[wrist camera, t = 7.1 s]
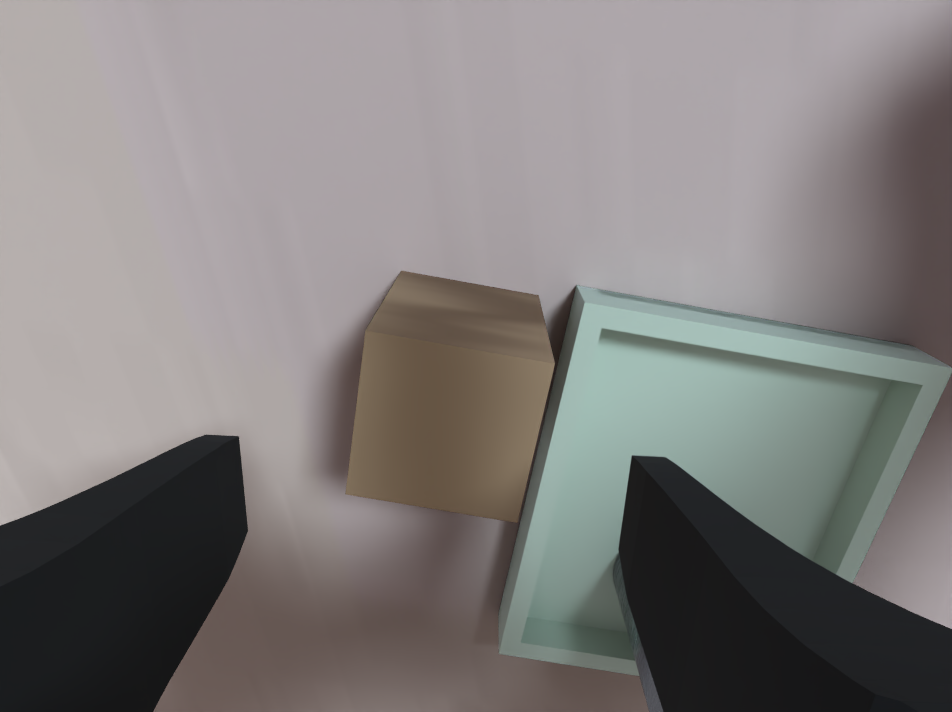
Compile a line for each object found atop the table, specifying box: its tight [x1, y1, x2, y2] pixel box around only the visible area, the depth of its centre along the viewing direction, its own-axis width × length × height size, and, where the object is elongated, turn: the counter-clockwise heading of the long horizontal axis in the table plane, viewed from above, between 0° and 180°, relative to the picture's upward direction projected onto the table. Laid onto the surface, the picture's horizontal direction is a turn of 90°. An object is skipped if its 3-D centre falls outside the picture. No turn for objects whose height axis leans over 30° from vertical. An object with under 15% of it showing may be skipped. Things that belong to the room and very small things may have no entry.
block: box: [345, 271, 555, 523], centre depth 17 cm, size 4×4×6 cm
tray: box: [498, 285, 952, 676], centre depth 20 cm, size 10×12×2 cm
